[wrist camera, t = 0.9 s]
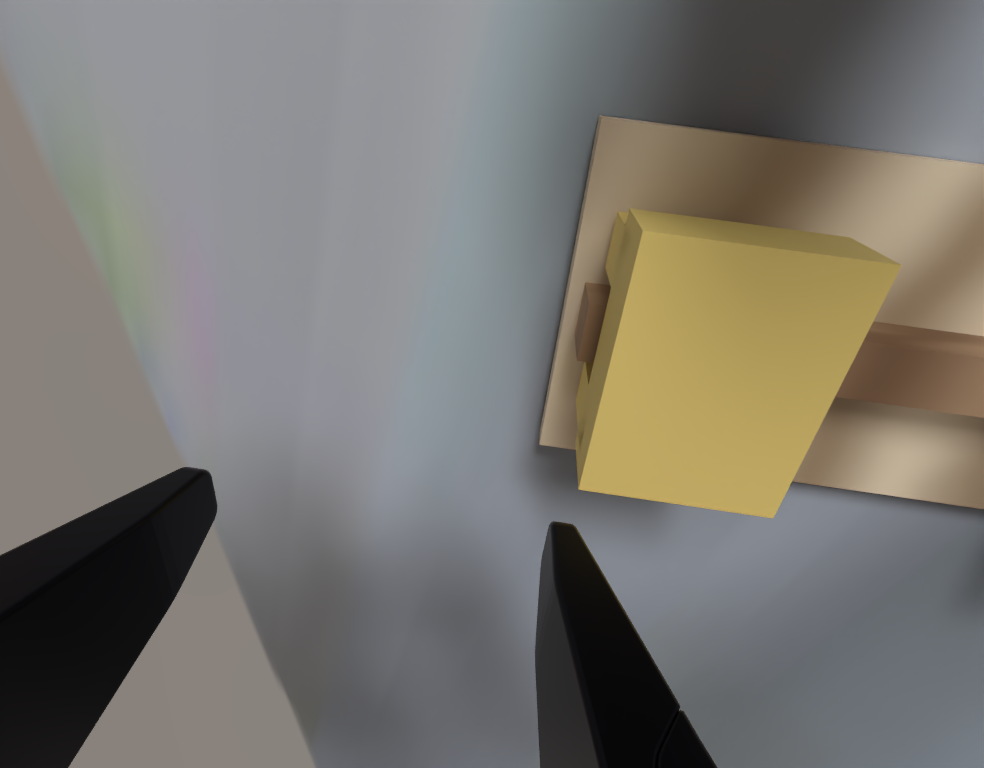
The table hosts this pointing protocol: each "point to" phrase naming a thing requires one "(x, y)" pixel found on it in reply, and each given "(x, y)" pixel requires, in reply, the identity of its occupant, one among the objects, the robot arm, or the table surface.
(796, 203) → the track
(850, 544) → the table surface
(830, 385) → the block
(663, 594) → the table surface
